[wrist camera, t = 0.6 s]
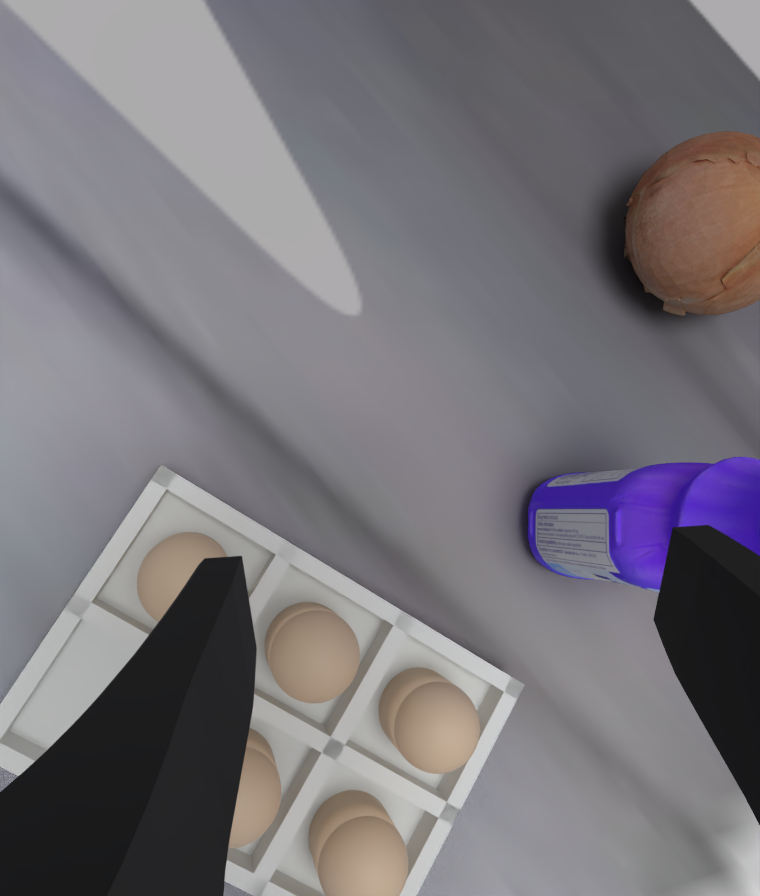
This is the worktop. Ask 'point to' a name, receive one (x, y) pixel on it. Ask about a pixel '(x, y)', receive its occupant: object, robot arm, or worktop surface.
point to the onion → (699, 225)
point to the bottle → (639, 516)
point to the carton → (286, 700)
